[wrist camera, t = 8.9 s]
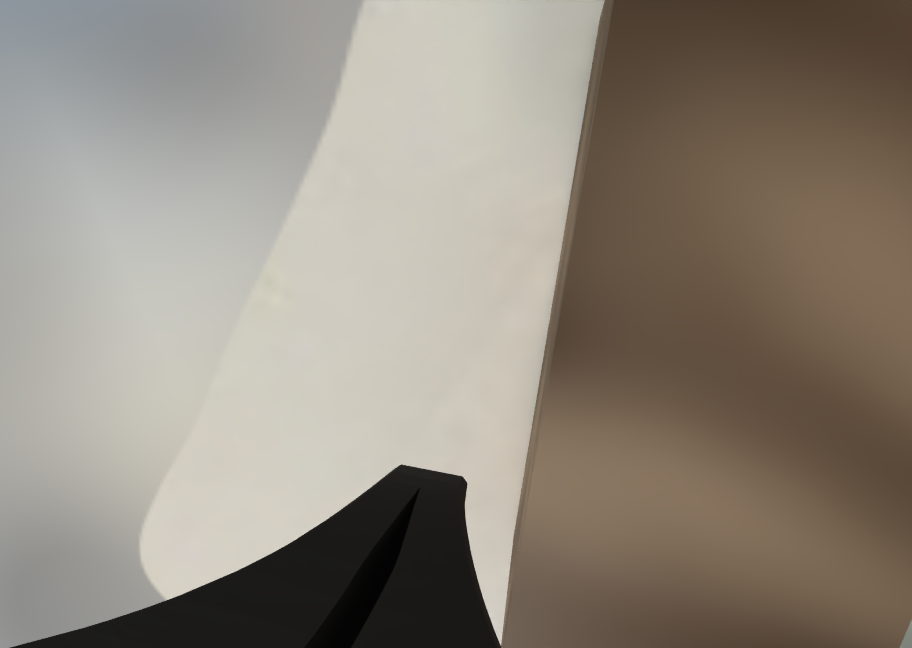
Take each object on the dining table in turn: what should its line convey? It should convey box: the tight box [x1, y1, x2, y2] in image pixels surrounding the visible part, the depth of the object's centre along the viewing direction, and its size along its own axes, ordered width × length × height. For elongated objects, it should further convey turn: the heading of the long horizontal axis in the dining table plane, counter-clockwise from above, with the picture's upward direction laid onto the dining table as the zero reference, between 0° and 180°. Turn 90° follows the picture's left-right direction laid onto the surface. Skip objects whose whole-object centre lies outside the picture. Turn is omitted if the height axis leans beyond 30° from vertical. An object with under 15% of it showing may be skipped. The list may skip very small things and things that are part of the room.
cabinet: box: [501, 0, 912, 648], centre depth 15 cm, size 18×9×6 cm, turn 173°
